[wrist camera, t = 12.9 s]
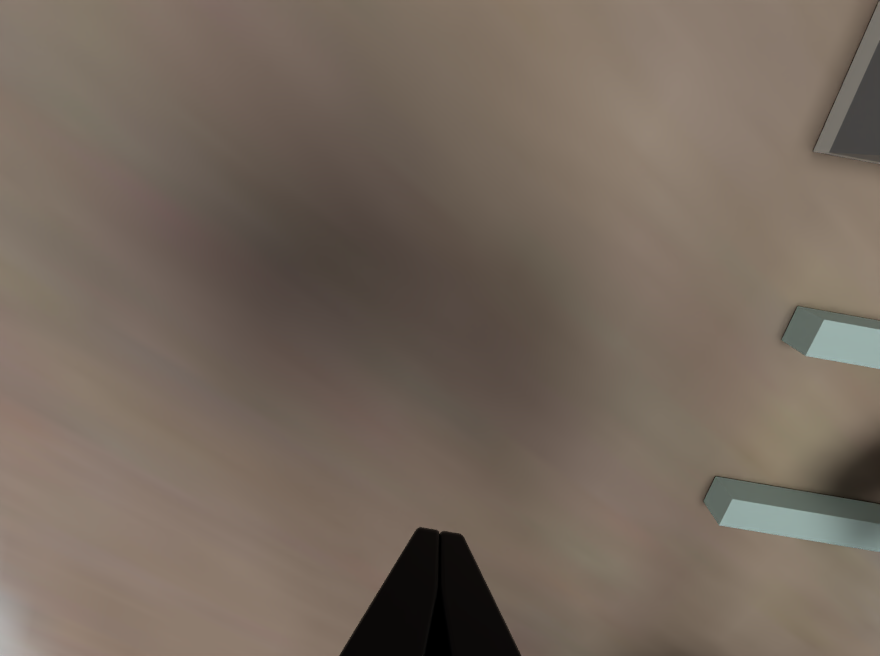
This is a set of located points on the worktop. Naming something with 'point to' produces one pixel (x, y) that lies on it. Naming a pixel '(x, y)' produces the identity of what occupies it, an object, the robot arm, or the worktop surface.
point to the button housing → (857, 105)
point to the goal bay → (804, 509)
